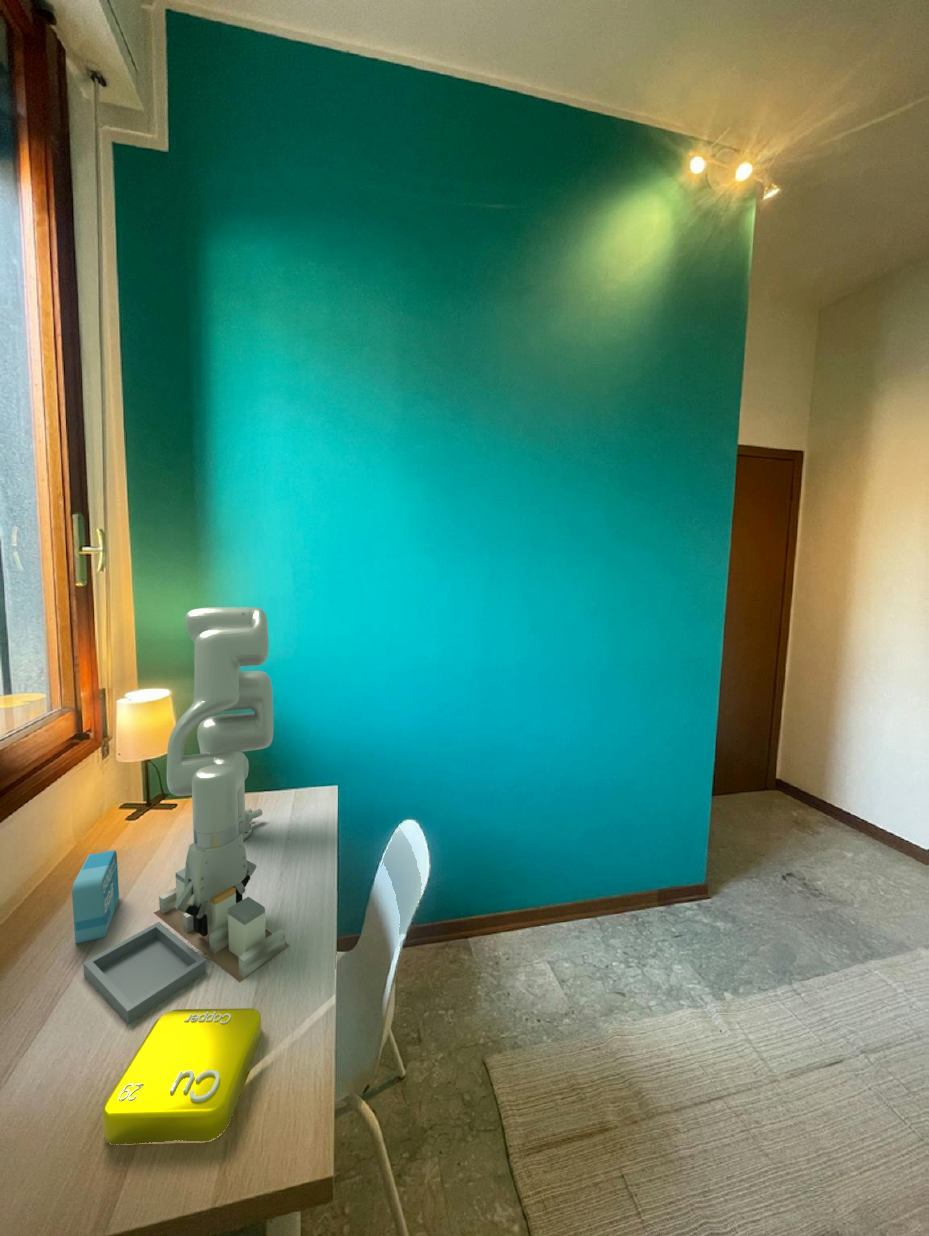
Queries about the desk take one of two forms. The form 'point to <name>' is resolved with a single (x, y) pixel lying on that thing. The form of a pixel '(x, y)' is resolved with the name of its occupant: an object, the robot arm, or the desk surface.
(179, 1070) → the element tile
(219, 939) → the fuse board
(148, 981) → the tray
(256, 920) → the block
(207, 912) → the block
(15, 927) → the desk surface
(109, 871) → the data package
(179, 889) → the block
